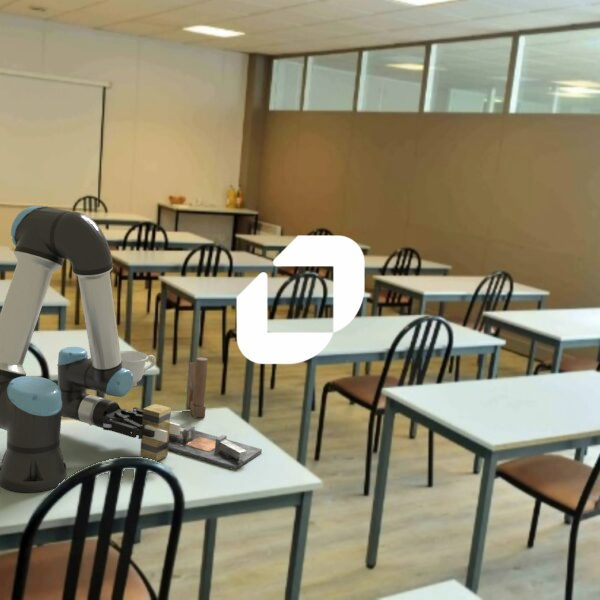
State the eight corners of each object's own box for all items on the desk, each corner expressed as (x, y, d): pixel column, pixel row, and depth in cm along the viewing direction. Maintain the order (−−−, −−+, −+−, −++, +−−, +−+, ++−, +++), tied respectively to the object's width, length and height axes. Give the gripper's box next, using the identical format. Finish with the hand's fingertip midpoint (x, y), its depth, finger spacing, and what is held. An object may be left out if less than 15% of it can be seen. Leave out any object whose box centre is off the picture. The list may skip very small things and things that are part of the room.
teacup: (159, 388, 246) (161, 359, 244) (115, 392, 239) (116, 362, 237) (148, 377, 256) (149, 349, 254) (105, 380, 249) (106, 351, 247)
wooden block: (197, 405, 234) (201, 350, 230) (205, 417, 224) (209, 360, 221) (186, 405, 233) (190, 350, 229) (193, 418, 223) (197, 360, 219)
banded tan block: (140, 456, 192) (143, 408, 189) (151, 450, 196) (154, 403, 194) (156, 461, 190) (159, 413, 187) (167, 455, 194) (171, 407, 192)
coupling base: (144, 442, 201) (145, 427, 201) (174, 427, 214) (175, 413, 213) (236, 470, 190) (238, 454, 189) (262, 453, 202) (263, 437, 202)
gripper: (121, 416, 208) (191, 436, 198) (76, 435, 191) (150, 458, 182) (122, 390, 206) (193, 410, 197) (77, 407, 190) (152, 429, 181)
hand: (172, 433), depth 189 cm, fingers closed on banded tan block, 5 cm apart
